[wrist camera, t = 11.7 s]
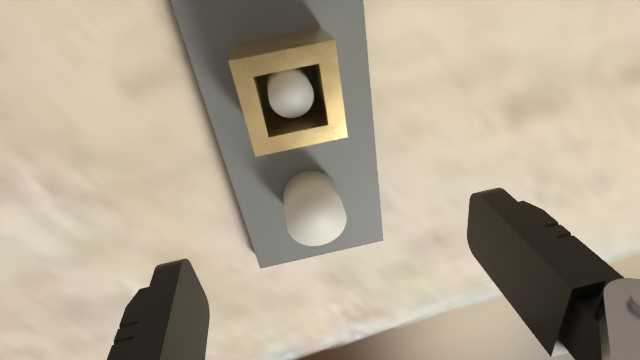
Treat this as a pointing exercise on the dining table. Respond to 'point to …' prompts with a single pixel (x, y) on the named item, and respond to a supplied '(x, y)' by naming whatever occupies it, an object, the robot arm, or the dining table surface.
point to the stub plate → (279, 166)
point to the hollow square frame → (282, 55)
